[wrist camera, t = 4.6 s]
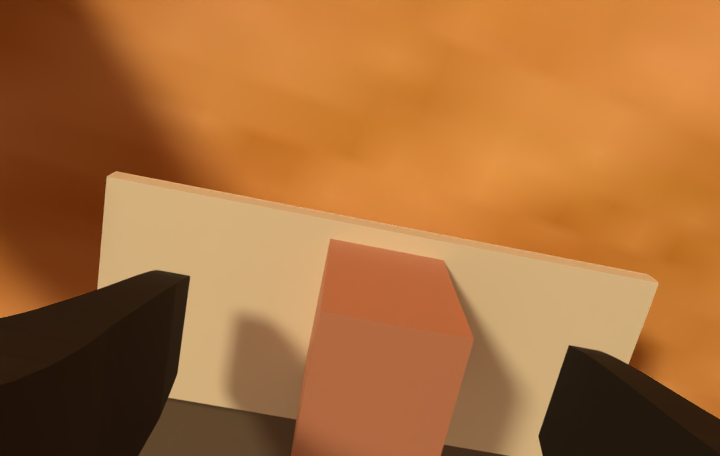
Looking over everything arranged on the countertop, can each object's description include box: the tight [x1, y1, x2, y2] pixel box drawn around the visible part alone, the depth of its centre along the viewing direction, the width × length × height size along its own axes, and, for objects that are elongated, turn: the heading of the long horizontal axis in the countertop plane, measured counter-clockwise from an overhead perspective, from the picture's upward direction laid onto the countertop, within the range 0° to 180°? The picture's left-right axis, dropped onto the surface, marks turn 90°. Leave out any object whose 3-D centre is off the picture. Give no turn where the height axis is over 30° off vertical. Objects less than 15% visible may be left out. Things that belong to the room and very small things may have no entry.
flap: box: [97, 171, 659, 456], centre depth 12 cm, size 5×12×4 cm, turn 78°
